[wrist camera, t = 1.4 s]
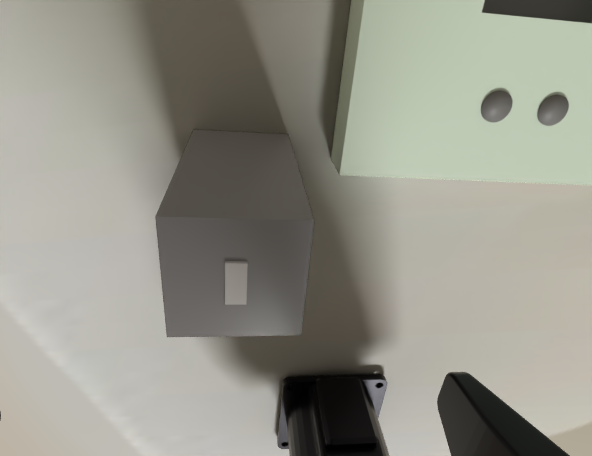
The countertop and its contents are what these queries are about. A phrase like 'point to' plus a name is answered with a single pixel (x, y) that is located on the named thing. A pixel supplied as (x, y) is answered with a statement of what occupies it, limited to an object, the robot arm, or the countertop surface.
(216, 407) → the countertop surface
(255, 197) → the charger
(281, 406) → the robot arm
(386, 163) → the outlet plate
